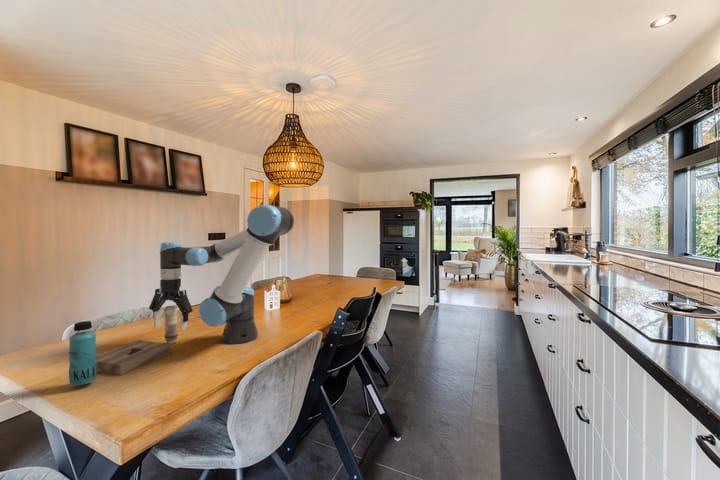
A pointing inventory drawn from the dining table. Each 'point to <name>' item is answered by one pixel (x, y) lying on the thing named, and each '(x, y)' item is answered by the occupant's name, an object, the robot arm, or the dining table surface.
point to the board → (130, 356)
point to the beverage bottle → (82, 355)
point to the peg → (171, 324)
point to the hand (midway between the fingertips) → (170, 327)
